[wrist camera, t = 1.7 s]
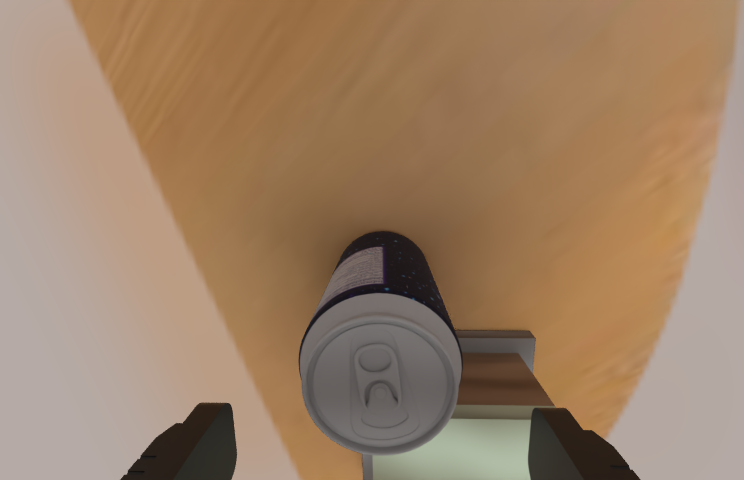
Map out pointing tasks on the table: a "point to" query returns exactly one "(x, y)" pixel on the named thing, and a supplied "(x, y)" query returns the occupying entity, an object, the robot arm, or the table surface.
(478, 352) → the block
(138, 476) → the robot arm
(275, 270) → the table surface
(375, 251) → the beverage can
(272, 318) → the table surface
